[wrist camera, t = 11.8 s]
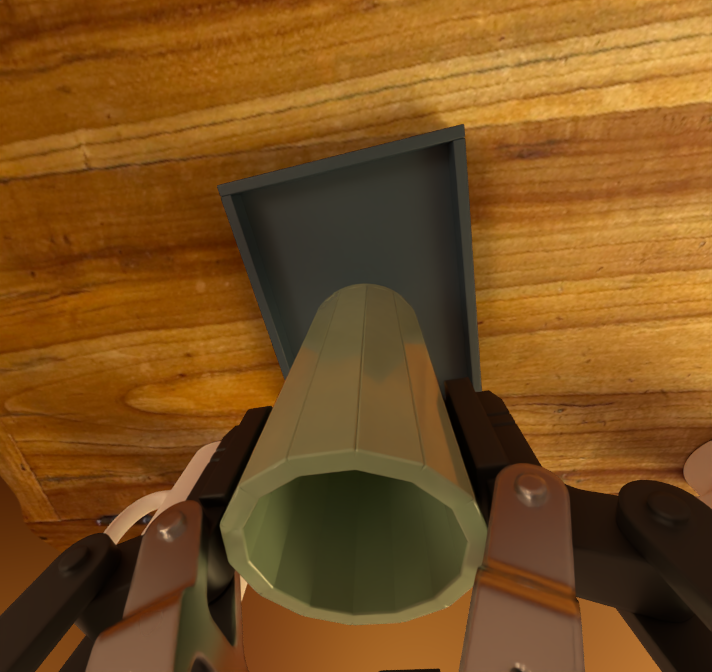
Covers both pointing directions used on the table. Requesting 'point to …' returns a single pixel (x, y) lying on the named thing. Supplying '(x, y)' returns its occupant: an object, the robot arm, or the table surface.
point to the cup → (358, 476)
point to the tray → (365, 241)
